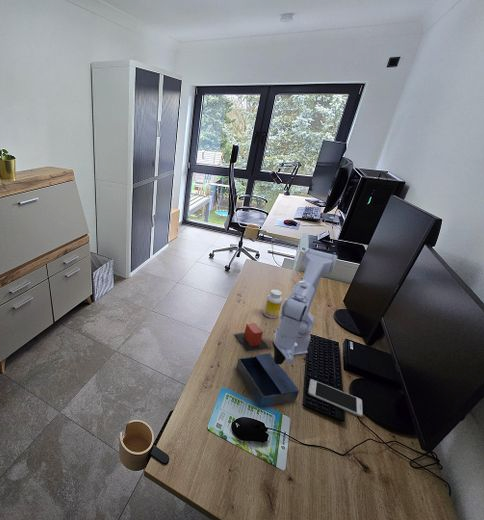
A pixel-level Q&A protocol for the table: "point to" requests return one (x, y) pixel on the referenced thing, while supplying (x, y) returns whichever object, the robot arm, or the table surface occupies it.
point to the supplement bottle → (273, 304)
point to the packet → (253, 334)
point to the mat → (247, 345)
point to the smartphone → (336, 397)
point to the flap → (276, 373)
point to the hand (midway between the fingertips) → (277, 362)
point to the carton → (262, 384)
